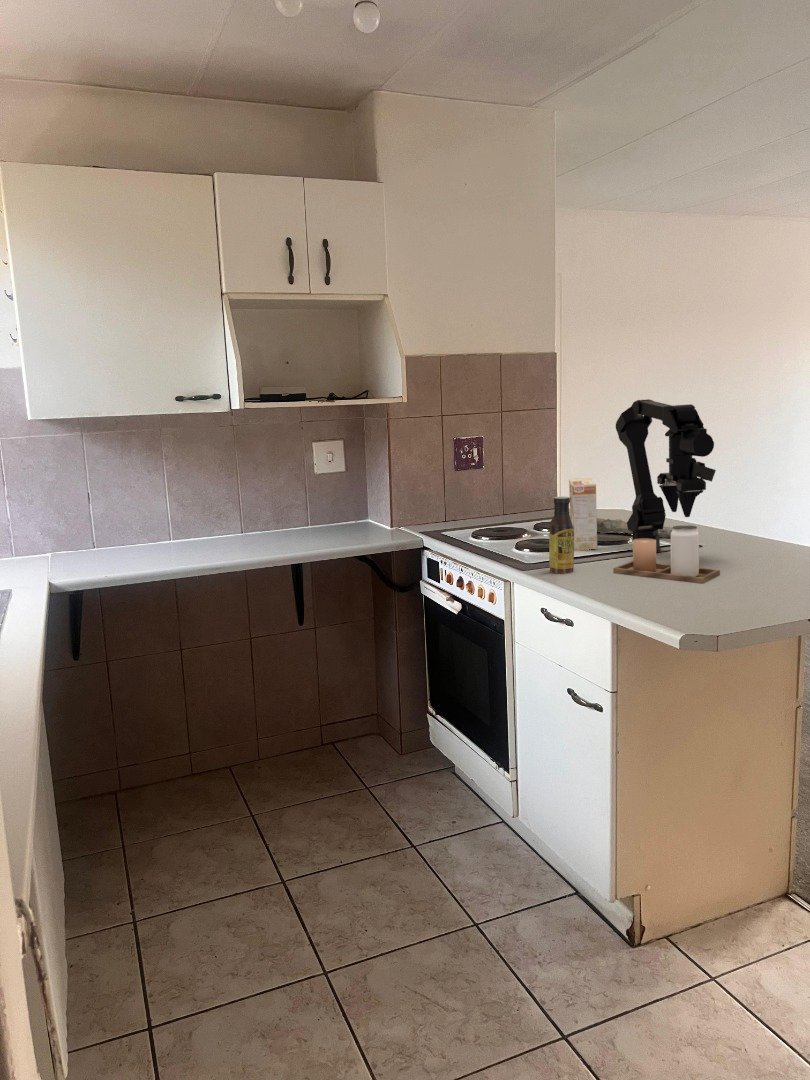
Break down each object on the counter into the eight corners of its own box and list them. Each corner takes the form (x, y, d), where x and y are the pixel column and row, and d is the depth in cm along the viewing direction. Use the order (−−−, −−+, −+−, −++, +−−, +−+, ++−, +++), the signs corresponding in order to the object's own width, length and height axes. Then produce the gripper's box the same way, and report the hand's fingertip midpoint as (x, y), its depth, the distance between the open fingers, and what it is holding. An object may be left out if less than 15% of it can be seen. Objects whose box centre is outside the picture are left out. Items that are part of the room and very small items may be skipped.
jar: (629, 572, 204) (628, 541, 202) (639, 568, 208) (639, 537, 206) (649, 575, 200) (649, 543, 198) (660, 570, 204) (660, 539, 202)
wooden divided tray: (613, 575, 204) (613, 568, 204) (632, 567, 211) (632, 560, 211) (702, 586, 189) (702, 578, 188) (720, 577, 196) (720, 569, 195)
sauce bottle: (559, 577, 206) (557, 499, 202) (544, 573, 211) (542, 497, 208) (580, 573, 209) (578, 496, 205) (564, 569, 214) (562, 494, 211)
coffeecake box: (570, 541, 251) (568, 478, 248) (593, 540, 250) (592, 477, 247) (573, 550, 237) (571, 484, 233) (598, 550, 236) (596, 483, 232)
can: (701, 573, 198) (701, 525, 196) (695, 579, 192) (695, 530, 190) (674, 571, 201) (674, 524, 199) (667, 577, 196) (667, 528, 194)
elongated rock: (671, 545, 244) (685, 541, 251) (672, 528, 243) (686, 524, 250) (569, 531, 267) (585, 527, 274) (570, 515, 266) (586, 512, 273)
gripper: (727, 455, 199) (726, 517, 201) (697, 449, 217) (697, 507, 220) (682, 457, 198) (682, 520, 201) (656, 452, 217) (656, 510, 219)
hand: (680, 514), depth 210 cm, fingers open, 9 cm apart
